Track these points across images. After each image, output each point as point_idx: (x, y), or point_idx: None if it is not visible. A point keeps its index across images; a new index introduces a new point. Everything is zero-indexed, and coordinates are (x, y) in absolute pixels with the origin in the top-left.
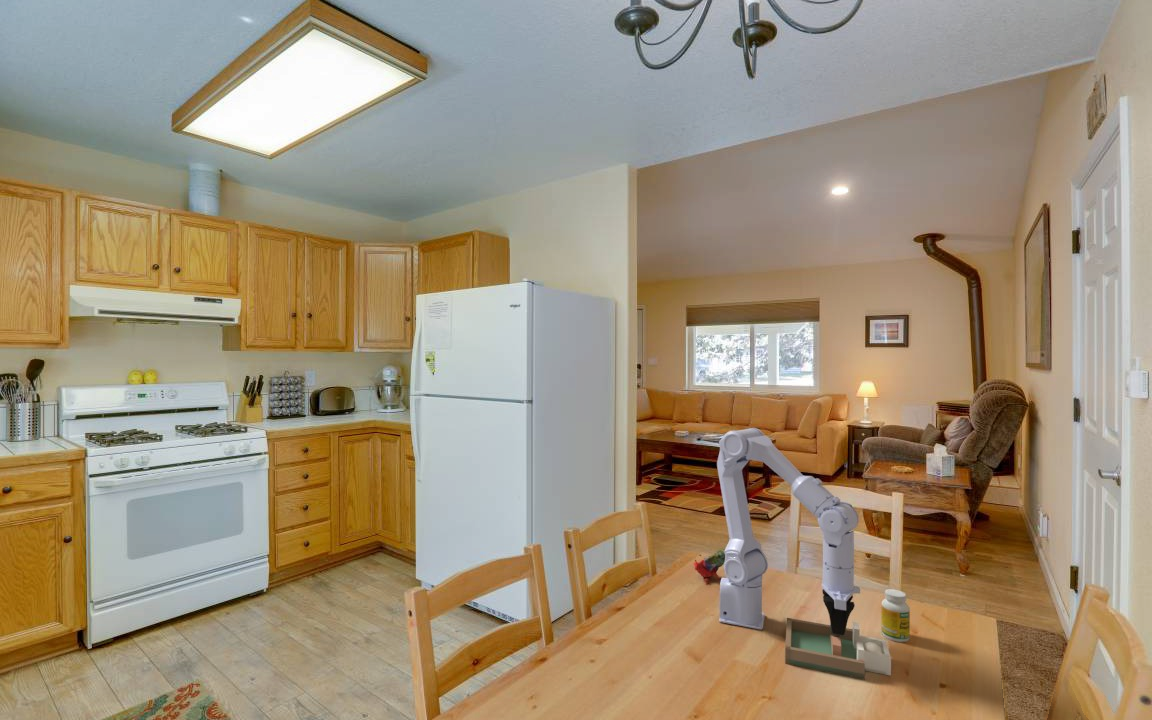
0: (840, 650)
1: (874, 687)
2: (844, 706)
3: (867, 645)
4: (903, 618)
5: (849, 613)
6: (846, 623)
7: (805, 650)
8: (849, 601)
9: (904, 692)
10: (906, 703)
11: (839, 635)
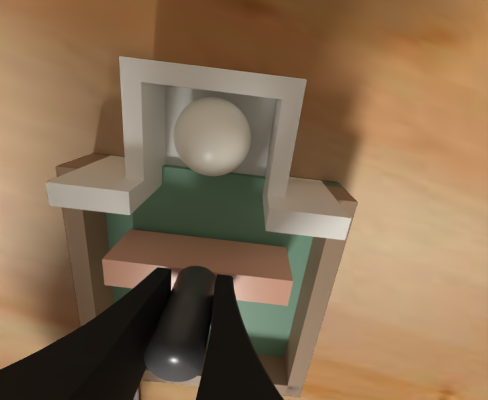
0: (289, 271)
1: (380, 161)
2: (483, 262)
3: (221, 165)
4: None
5: (275, 388)
6: (240, 317)
7: (300, 356)
8: (77, 395)
9: (401, 63)
10: (471, 77)
11: (213, 278)
